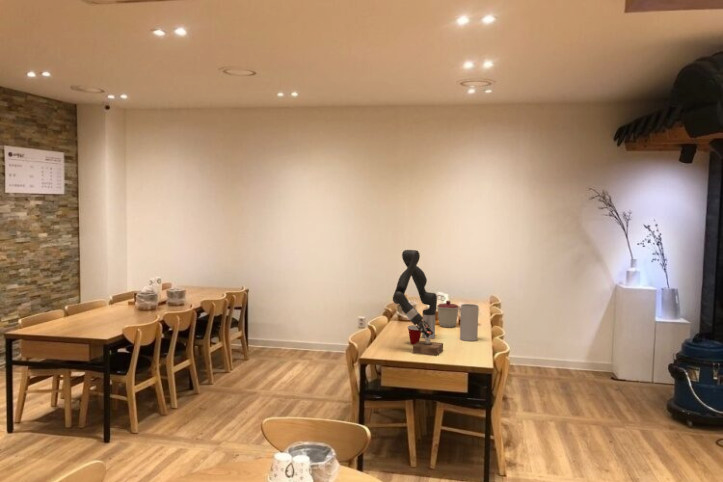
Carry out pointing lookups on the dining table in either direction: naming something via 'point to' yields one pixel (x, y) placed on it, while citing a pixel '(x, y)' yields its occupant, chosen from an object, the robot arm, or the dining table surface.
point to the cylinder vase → (469, 322)
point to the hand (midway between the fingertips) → (430, 335)
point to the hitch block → (428, 348)
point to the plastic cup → (414, 334)
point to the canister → (447, 314)
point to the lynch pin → (427, 339)
